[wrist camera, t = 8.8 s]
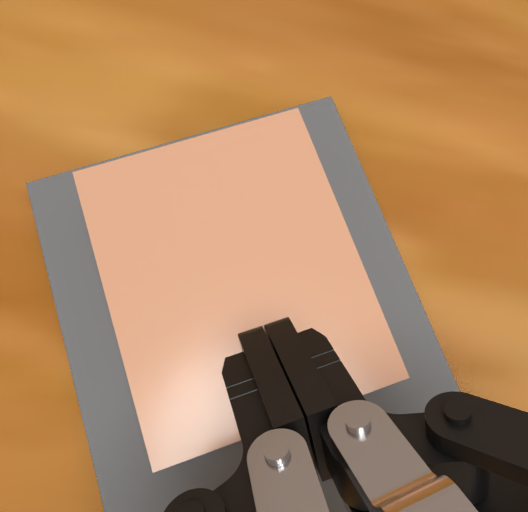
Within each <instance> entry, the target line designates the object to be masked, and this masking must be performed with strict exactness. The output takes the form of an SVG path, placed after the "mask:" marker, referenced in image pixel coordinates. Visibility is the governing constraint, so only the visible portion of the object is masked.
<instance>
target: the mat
mask: <svg viewBox="0 0 528 512" xmlns="http://www.w3.org/2000/svg"><path fill="white" fill-rule="evenodd" d="M295 108H298V109H299V111H300V114H301V116H302V118H303V121H304V123H305V126H306V128H307V131H308V133H309V135H310V138H311V140H312V143H313V145H314V148H315V150H316V152H317V155H318V157H319V160H320V162H321V164H322V167H323V169H324V172H325V174H326V177H327V179H328V181H329V184H330V186H331V189H332V191H333V193H334V196H335V198H336V201H337V203H338V206H339V208H340V210H341V213H342V215H343V218H344V220H345V222H346V225H347V227H348V230H349V232H350V235H351V237H352V239H353V242H354V244H355V247H356V249H357V251H358V254H359V256H360V259H361V261H362V264H363V266H364V268H365V271H366V273H367V276H368V278H369V280H370V283H371V285H372V288H373V290H374V293H375V295H376V297H377V300H378V302H379V305H380V307H381V309H382V312H383V314H384V317H385V319H386V322H387V324H388V326H389V329H390V331H391V334H392V336H393V339H394V341H395V343H396V346H397V348H398V351H399V353H400V355H401V358H402V360H403V363H404V365H405V368H406V370H407V372H408V375H409V377H410V378H408V379H405V380H402V381H399V382H397V383H394V384H391V385H389V386H386V387H383V388H381V389H378V390H375V391H373V392H370V393H367V394H364V395H363V396H364V398H365V399H366V401H369V402H372V403H375V404H376V405H378V406H379V407H381V408H382V409H383V410H384V411H385V412H386V413H391V414H410V413H423V412H424V411H425V407H426V404H427V403H428V402H429V400H430V399H432V398H433V397H434V396H436V395H438V394H440V393H444V392H450V391H457V392H460V390H459V388H458V386H457V383H456V381H455V379H454V377H453V374H452V372H451V370H450V367H449V365H448V363H447V361H446V358H445V356H444V354H443V351H442V349H441V347H440V345H439V342H438V340H437V338H436V335H435V333H434V331H433V329H432V326H431V324H430V322H429V319H428V317H427V315H426V312H425V310H424V308H423V306H422V303H421V301H420V299H419V296H418V294H417V292H416V290H415V287H414V285H413V283H412V280H411V278H410V276H409V274H408V271H407V269H406V267H405V264H404V262H403V260H402V257H401V255H400V253H399V251H398V248H397V246H396V244H395V241H394V239H393V237H392V235H391V232H390V230H389V228H388V225H387V223H386V221H385V219H384V216H383V214H382V212H381V209H380V207H379V205H378V203H377V200H376V198H375V196H374V193H373V191H372V189H371V186H370V184H369V182H368V180H367V177H366V175H365V173H364V170H363V168H362V166H361V164H360V161H359V159H358V157H357V154H356V152H355V150H354V148H353V145H352V143H351V141H350V138H349V136H348V134H347V131H346V129H345V127H344V125H343V122H342V120H341V118H340V115H339V113H338V111H337V109H336V106H335V104H334V102H333V99H332V97H331V96H330V97H327V98H323V99H320V100H316V101H313V102H309V103H306V104H302V105H299V106H295V107H292V108H288V109H285V110H281V111H278V112H274V113H271V114H267V115H264V116H260V117H257V118H253V119H250V120H246V121H243V122H239V123H236V124H232V125H229V126H225V127H222V128H218V129H215V130H211V131H208V132H204V133H201V134H197V135H194V136H190V137H187V138H183V139H180V140H176V141H173V142H169V143H166V144H162V145H159V146H155V147H152V148H148V149H145V150H141V151H138V152H134V153H131V154H127V155H124V156H120V157H117V158H113V159H109V160H106V161H102V162H99V163H95V164H92V165H88V166H85V167H81V168H78V169H74V170H71V171H67V172H64V173H60V174H57V175H53V176H50V177H46V178H43V179H39V180H36V181H32V182H29V183H26V185H27V189H28V193H29V198H30V202H31V206H32V210H33V214H34V219H35V223H36V227H37V231H38V235H39V239H40V244H41V248H42V252H43V256H44V260H45V265H46V269H47V273H48V277H49V281H50V285H51V290H52V294H53V298H54V302H55V306H56V310H57V315H58V319H59V323H60V327H61V331H62V336H63V340H64V344H65V348H66V352H67V356H68V361H69V365H70V369H71V373H72V377H73V382H74V386H75V390H76V394H77V398H78V402H79V407H80V411H81V415H82V419H83V423H84V428H85V432H86V436H87V440H88V444H89V448H90V453H91V457H92V461H93V465H94V469H95V474H96V478H97V482H98V486H99V490H100V494H101V499H102V503H103V507H104V511H105V512H164V510H165V509H166V507H167V506H168V505H169V503H170V502H171V501H172V500H173V499H174V498H176V497H177V496H178V495H180V494H181V493H183V492H185V491H187V490H191V489H195V488H206V489H210V490H212V491H213V490H215V489H216V488H217V487H219V486H220V485H221V484H223V483H224V482H225V481H227V480H228V479H229V478H230V477H231V476H232V475H233V474H234V473H235V471H236V470H237V468H238V466H239V465H240V462H241V460H242V455H243V445H242V441H241V440H240V441H238V442H235V443H232V444H230V445H227V446H224V447H221V448H219V449H216V450H213V451H211V452H208V453H205V454H203V455H200V456H197V457H195V458H192V459H189V460H186V461H184V462H181V463H178V464H176V465H173V466H170V467H168V468H165V469H162V470H159V471H157V472H154V473H153V472H152V468H151V464H150V461H149V457H148V453H147V449H146V446H145V442H144V438H143V434H142V431H141V427H140V423H139V419H138V416H137V412H136V408H135V405H134V401H133V397H132V393H131V390H130V386H129V382H128V378H127V375H126V371H125V367H124V363H123V360H122V356H121V352H120V348H119V345H118V341H117V337H116V333H115V330H114V326H113V322H112V319H111V315H110V311H109V307H108V304H107V300H106V296H105V292H104V289H103V285H102V281H101V277H100V274H99V270H98V266H97V262H96V259H95V255H94V251H93V248H92V244H91V240H90V236H89V233H88V229H87V225H86V221H85V218H84V214H83V210H82V206H81V203H80V199H79V195H78V191H77V188H76V184H75V180H74V177H73V173H72V172H75V171H79V170H82V169H86V168H89V167H93V166H96V165H100V164H103V163H107V162H110V161H114V160H117V159H121V158H124V157H128V156H131V155H135V154H138V153H142V152H145V151H149V150H152V149H156V148H159V147H163V146H166V145H170V144H173V143H177V142H180V141H184V140H187V139H191V138H194V137H198V136H201V135H205V134H208V133H212V132H215V131H219V130H222V129H225V128H229V127H232V126H236V125H239V124H243V123H246V122H250V121H253V120H257V119H260V118H264V117H267V116H271V115H274V114H278V113H281V112H285V111H288V110H292V109H295ZM316 469H317V468H316ZM317 473H318V470H317ZM318 477H319V481H320V485H321V488H322V491H323V494H324V497H325V500H326V503H327V506H328V509H329V512H347V510H346V508H345V506H344V503H343V499H342V498H341V496H340V495H339V492H338V490H337V488H336V486H335V484H334V482H333V479H332V478H331V479H329V480H326V481H324V482H322V480H321V477H320V475H319V473H318Z"/></svg>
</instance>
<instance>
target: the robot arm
mask: <svg viewBox="0 0 528 512" xmlns="http://www.w3.org/2000/svg"><path fill="white" fill-rule="evenodd" d="M264 330H265V331H264ZM238 338H239V341H240V345H241V348H242V351H243V352H240V353H237V354H234V355H232V356H229V357H226V358H225V361H224V365H223V369H222V376H223V379H224V383H225V386H226V389H227V393H228V396H229V400H230V403H231V407H232V410H233V414H234V417H235V420H236V424H237V427H238V431H239V434H240V438H241V441H242V445H243V455H242V460H241V462H240V465H239V466H238V468H237V470H236V471H235V473H234V474H233V475H232V476H231V477H230V478H229V479H228V480H227V481H225V482H224V483H223V484H221V485H220V486H219V487H217V488H216V489H215V490H213V491H212V490H210V489H206V488H195V489H191V490H187V491H185V492H183V493H181V494H180V495H178V496H177V497H176V498H174V499H173V500H172V501H171V502H170V503H169V505H168V506H167V507H166V509H165V510H164V512H329V509H328V506H327V503H326V500H325V497H324V494H323V491H322V488H321V485H320V481H319V477H318V473H319V475H320V477H321V480H322V482H324V481H326V480H329V479H331V478H332V479H333V482H334V484H335V486H336V488H337V490H338V492H339V495H340V496H341V498H342V499H343V503H344V506H345V508H346V510H347V512H528V412H524V411H521V410H518V409H515V408H512V407H509V406H505V405H502V404H499V403H496V402H493V401H490V400H487V399H483V398H480V397H477V396H474V395H471V394H468V393H464V392H457V391H450V392H444V393H440V394H438V395H436V396H434V397H433V398H432V399H430V400H429V402H428V403H427V404H426V407H425V411H424V412H423V413H410V414H391V413H386V412H385V411H384V410H383V409H382V408H381V407H379V406H378V405H376V404H375V403H372V402H369V401H366V399H365V398H364V396H363V395H362V393H361V392H360V390H359V388H358V387H357V385H356V384H355V382H354V380H353V379H352V377H351V376H350V374H349V373H348V371H347V369H346V368H345V366H344V365H343V363H342V361H340V358H339V357H338V355H337V353H336V352H335V351H334V349H333V347H332V345H331V344H330V342H329V341H328V339H327V337H326V336H325V335H323V334H321V333H320V332H318V331H316V330H315V329H313V328H310V329H307V330H304V331H301V332H298V333H297V331H296V329H295V327H294V325H293V324H292V322H291V320H290V318H289V317H286V318H283V319H280V320H277V321H274V322H271V323H268V324H265V325H264V328H263V326H259V327H256V328H253V329H250V330H247V331H244V332H241V333H238ZM316 468H317V469H316ZM317 470H318V473H317Z"/></svg>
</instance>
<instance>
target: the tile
mask: <svg viewBox="0 0 528 512" xmlns="http://www.w3.org/2000/svg"><path fill="white" fill-rule="evenodd" d="M72 173H73V177H74V180H75V184H76V188H77V191H78V195H79V199H80V203H81V206H82V210H83V214H84V218H85V221H86V225H87V229H88V233H89V236H90V240H91V244H92V248H93V251H94V255H95V259H96V262H97V266H98V270H99V274H100V277H101V281H102V285H103V289H104V292H105V296H106V300H107V304H108V307H109V311H110V315H111V319H112V322H113V326H114V330H115V333H116V337H117V341H118V345H119V348H120V352H121V356H122V360H123V363H124V367H125V371H126V375H127V378H128V382H129V386H130V390H131V393H132V397H133V401H134V405H135V408H136V412H137V416H138V419H139V423H140V427H141V431H142V434H143V438H144V442H145V446H146V449H147V453H148V457H149V461H150V464H151V468H152V472H153V473H154V472H157V471H159V470H162V469H165V468H168V467H170V466H173V465H176V464H178V463H181V462H184V461H186V460H189V459H192V458H195V457H197V456H200V455H203V454H205V453H208V452H211V451H213V450H216V449H219V448H221V447H224V446H227V445H230V444H232V443H235V442H238V441H240V440H241V438H240V434H239V431H238V427H237V424H236V420H235V417H234V414H233V410H232V407H231V403H230V400H229V396H228V393H227V389H226V386H225V383H224V379H223V376H222V369H223V365H224V361H225V358H226V357H229V356H232V355H234V354H237V353H240V352H243V351H242V348H241V345H240V341H239V338H238V333H241V332H244V331H247V330H250V329H253V328H256V327H259V326H263V328H264V325H265V324H268V323H271V322H274V321H277V320H280V319H283V318H286V317H289V318H290V320H291V322H292V324H293V325H294V327H295V329H296V331H297V333H298V332H301V331H304V330H307V329H310V328H313V329H315V330H316V331H318V332H320V333H321V334H323V335H325V336H326V337H327V339H328V341H329V342H330V344H331V345H332V347H333V349H334V351H335V352H336V353H337V355H338V357H339V358H340V361H342V363H343V365H344V366H345V368H346V369H347V371H348V373H349V374H350V376H351V377H352V379H353V380H354V382H355V384H356V385H357V387H358V388H359V390H360V392H361V393H362V395H364V394H367V393H370V392H373V391H375V390H378V389H381V388H383V387H386V386H389V385H391V384H394V383H397V382H399V381H402V380H405V379H408V378H410V377H409V375H408V372H407V370H406V368H405V365H404V363H403V360H402V358H401V355H400V353H399V351H398V348H397V346H396V343H395V341H394V339H393V336H392V334H391V331H390V329H389V326H388V324H387V322H386V319H385V317H384V314H383V312H382V309H381V307H380V305H379V302H378V300H377V297H376V295H375V293H374V290H373V288H372V285H371V283H370V280H369V278H368V276H367V273H366V271H365V268H364V266H363V264H362V261H361V259H360V256H359V254H358V251H357V249H356V247H355V244H354V242H353V239H352V237H351V235H350V232H349V230H348V227H347V225H346V222H345V220H344V218H343V215H342V213H341V210H340V208H339V206H338V203H337V201H336V198H335V196H334V193H333V191H332V189H331V186H330V184H329V181H328V179H327V177H326V174H325V172H324V169H323V167H322V164H321V162H320V160H319V157H318V155H317V152H316V150H315V148H314V145H313V143H312V140H311V138H310V135H309V133H308V131H307V128H306V126H305V123H304V121H303V118H302V116H301V114H300V111H299V109H298V108H295V109H292V110H288V111H285V112H281V113H278V114H274V115H271V116H267V117H264V118H260V119H257V120H253V121H250V122H246V123H243V124H239V125H236V126H232V127H229V128H225V129H222V130H219V131H215V132H212V133H208V134H205V135H201V136H198V137H194V138H191V139H187V140H184V141H180V142H177V143H173V144H170V145H166V146H163V147H159V148H156V149H152V150H149V151H145V152H142V153H138V154H135V155H131V156H128V157H124V158H121V159H117V160H114V161H110V162H107V163H103V164H100V165H96V166H93V167H89V168H86V169H82V170H79V171H75V172H72ZM264 331H265V330H264Z"/></svg>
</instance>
